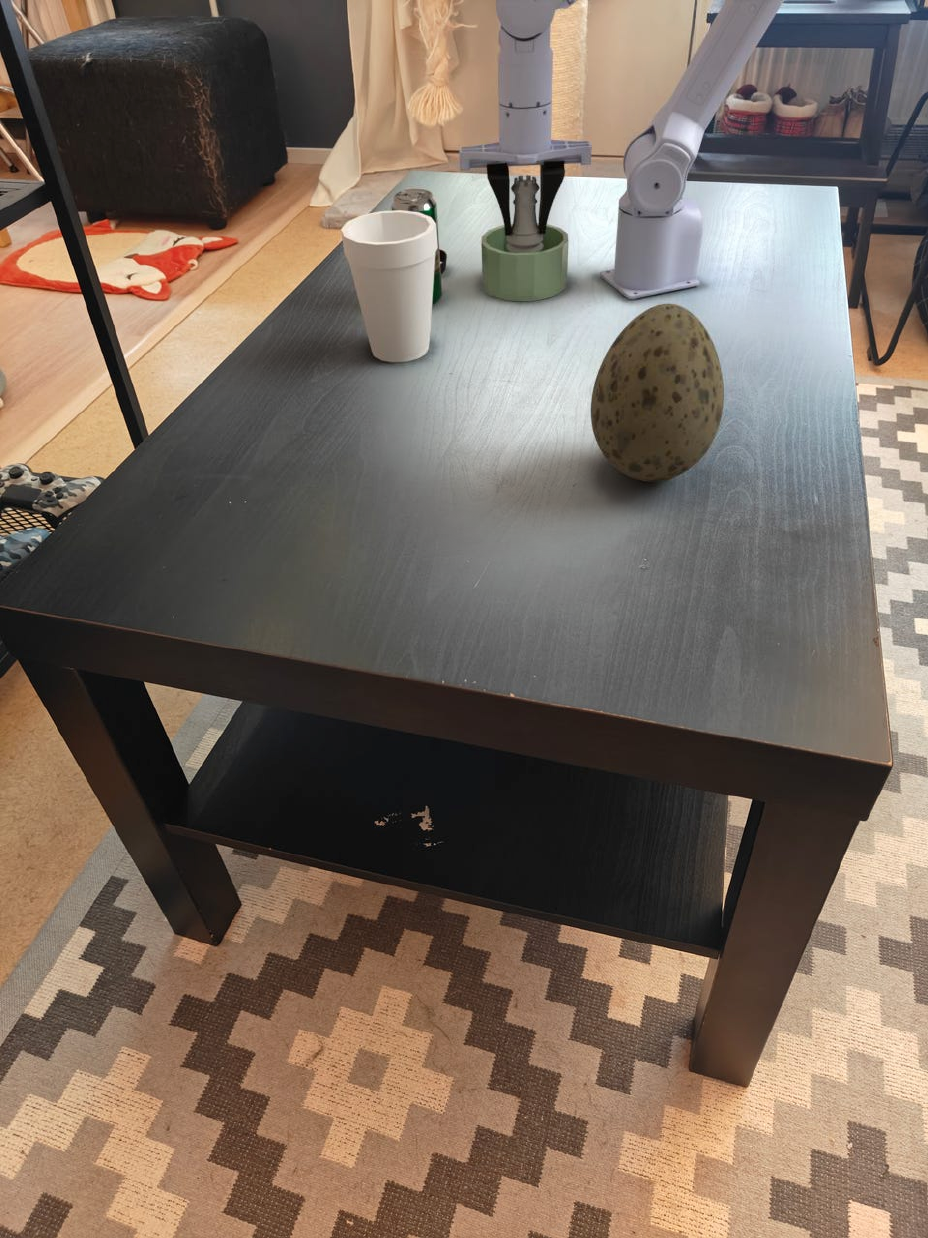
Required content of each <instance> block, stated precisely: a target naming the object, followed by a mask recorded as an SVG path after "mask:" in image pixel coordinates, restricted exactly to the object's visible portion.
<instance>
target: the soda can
mask: <svg viewBox="0 0 928 1238" xmlns="http://www.w3.org/2000/svg"><path fill="white" fill-rule="evenodd" d="M433 196H434V195H433V192H432V191H430V190H428V189H424V188H408V189H404V190H400V191H398V192H396V193H395V194H393V202H392V204H391V207H390V209H391V211H395V210H403V211H412V212H419V213H422V214H424V215H427V216H430V217H432V219H433V220H434V222H435V223H436V231H437V247H438V248H437V250H436V252H435V266H434V283H433V299H432V306H434V305H435V304H437V303H438V302H439V301H440V299H441V298H442V296H443V290H442V289H443V287H442V274H441V270H440V264H441V262H440V254H439V249H440V239H439V223H438V207H437V206H438V205H437V202H436V201H435V199H434V198H433Z"/></svg>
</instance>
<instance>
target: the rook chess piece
mask: <svg viewBox="0 0 928 1238" xmlns="http://www.w3.org/2000/svg"><path fill="white" fill-rule="evenodd" d="M510 191H511V192H512V193H513V195H514V199H513V201H512V203H513V205H514V213H513V220H512V221H513V222H512V224H513V225H512V228H511V235H510V236H507V241H508V245H507V246H506V247H507V250H508V251H509V252H512V253H534V252H540V251H541V250H542V248H543V247H544V246H543V244H542V243H541V241H542V240H543V236H542V234H540V233H539V227H538V225H537V223H538V221H537V211H536V208H537V203H538V199H537V198H536V194H537V193H538V192H539V191H540V185H539V184H538V183H537V177H536V176H532V177H531V175H528V174H526V176H525V179H524V176H523V175H519V176H518V177H514V178H513V184H512V185H511V186H510Z"/></svg>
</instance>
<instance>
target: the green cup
mask: <svg viewBox="0 0 928 1238" xmlns="http://www.w3.org/2000/svg"><path fill="white" fill-rule="evenodd" d="M512 225H513V223H511V228H512ZM537 225H538V227H539V222H537ZM542 236H543V240H542V241H541V243H542V244H543V246H544V247H543V248H542V250H541V251H540V252H534V253H512V252H509V251H508V250H507V247H506V246H507V245H508V241H507V236H506V235H505V227H504V224H503V225H499V226H496V227H494V228H491V229H488V230H487V231H486V232H485V233H484V234H483V235H481V241H480V243H481V273H482V274H481V275H482V279H481V280H482V287H483V290H484V291H485V292H486V293H487V294H489V295H490V296H491V297H494V298H497V299H500V300H504V301H510V302H534V301H535V302H536V301H541V300H545V299H549V298H553V297H554V296H557V295H559V294H560V293H562V291H564V290H565V288H566V286H567V282H568V268H569V267H568V266H569V234H568V233H567V232H566V231H565V230H563V229H562V228H560V227H558V226H554V225H551V224H548V223H547V226H546V234H542Z"/></svg>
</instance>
